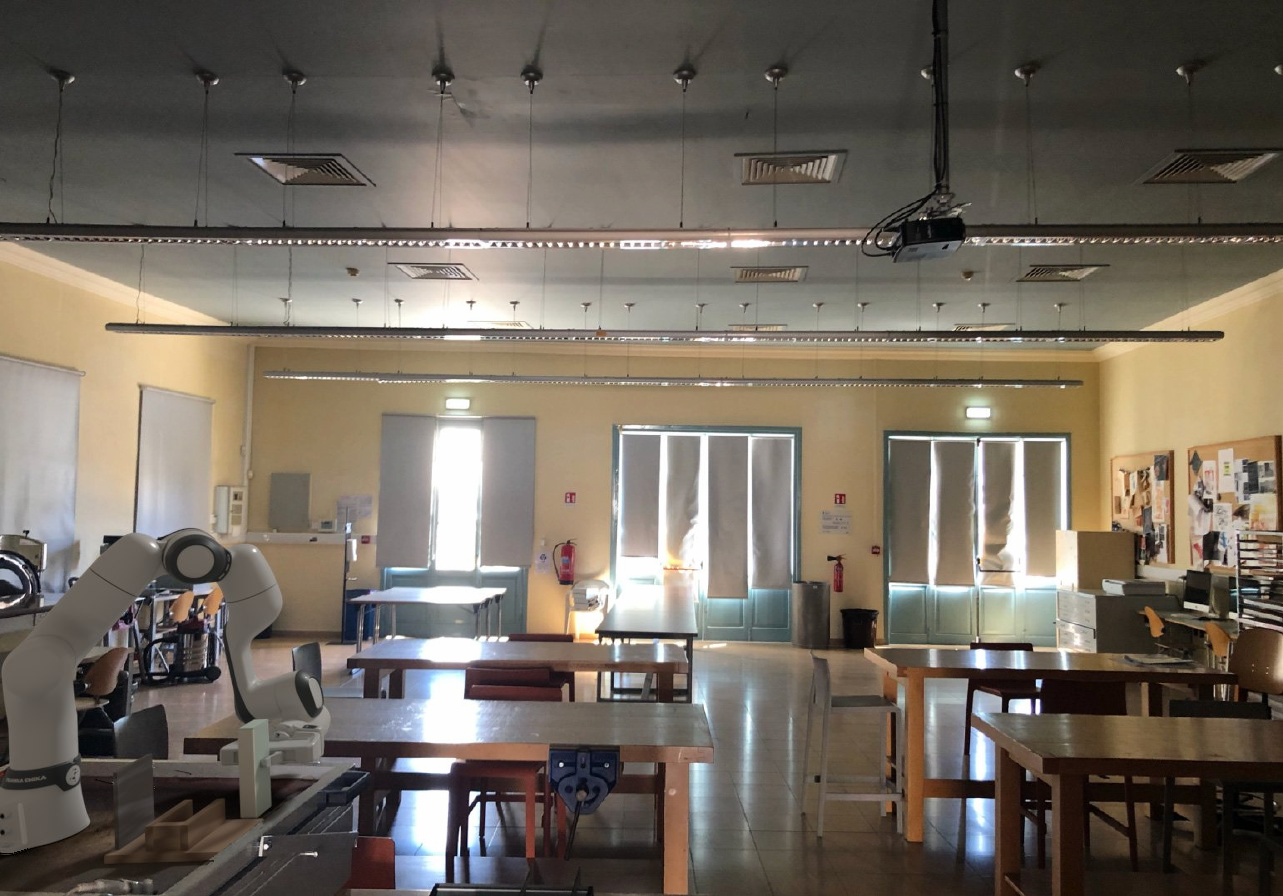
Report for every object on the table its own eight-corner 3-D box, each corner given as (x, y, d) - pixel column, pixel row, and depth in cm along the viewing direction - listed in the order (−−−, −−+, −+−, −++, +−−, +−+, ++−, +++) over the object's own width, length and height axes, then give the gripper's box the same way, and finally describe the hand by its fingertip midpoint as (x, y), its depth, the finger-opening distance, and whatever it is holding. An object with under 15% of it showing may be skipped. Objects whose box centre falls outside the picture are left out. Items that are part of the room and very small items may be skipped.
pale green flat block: (240, 819, 164) (237, 729, 164) (257, 806, 170) (253, 719, 171) (255, 818, 164) (252, 728, 164) (271, 805, 170) (268, 718, 170)
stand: (104, 863, 147) (101, 776, 147) (154, 829, 161) (151, 750, 161) (223, 860, 146) (220, 772, 146) (263, 826, 160) (260, 746, 160)
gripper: (239, 729, 181) (202, 750, 167) (329, 725, 180) (300, 747, 166) (240, 757, 181) (203, 781, 167) (330, 754, 180) (301, 778, 166)
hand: (252, 764), depth 166 cm, fingers closed on pale green flat block, 3 cm apart
